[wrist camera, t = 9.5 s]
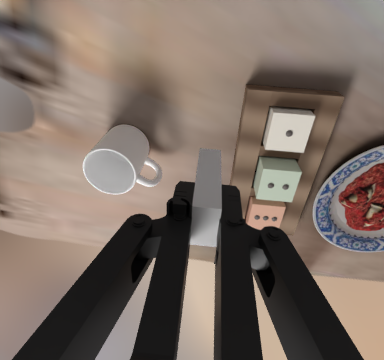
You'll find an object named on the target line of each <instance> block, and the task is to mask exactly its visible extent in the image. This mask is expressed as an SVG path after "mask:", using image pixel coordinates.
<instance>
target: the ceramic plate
mask: <svg viewBox="0 0 384 360" xmlns="http://www.w3.org/2000/svg"><path fill="white" fill-rule="evenodd" d="M313 220H314V224H315V227H316V229H317V231H318V232H319V233H320V235H321V236H322V237H323V238H324V239H325V240H327V241H328V242H330V243H331V244H333V245H335V246H337V247H340V248H342V249H346V250H350V251H356V252H380V251H384V145H382V146H378V147H375V148H373V149H370V150H368V151H365V152H363V153H361V154H359V155H357V156H355V157H354V158H352V159H350V160H349V161H347V162H346V163H344V164H343V165H342V166H340V167H339V168H338V169H337V170H336V171H334V172H333V173H332V174H331V175H330V176H329V178H328V179H327V180H326V181H325V182H324V184H323V185H322V186H321V188H320V190H319V191H318V193H317V195H316V198H315V201H314V205H313Z"/></svg>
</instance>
